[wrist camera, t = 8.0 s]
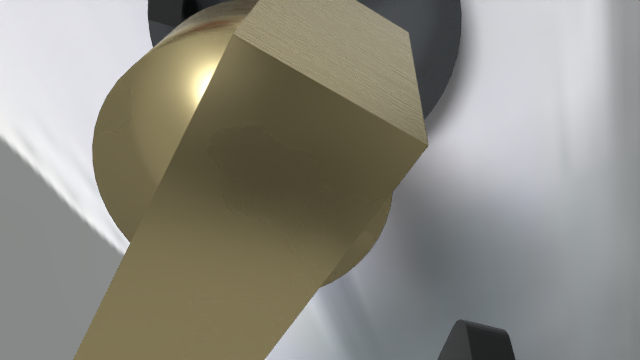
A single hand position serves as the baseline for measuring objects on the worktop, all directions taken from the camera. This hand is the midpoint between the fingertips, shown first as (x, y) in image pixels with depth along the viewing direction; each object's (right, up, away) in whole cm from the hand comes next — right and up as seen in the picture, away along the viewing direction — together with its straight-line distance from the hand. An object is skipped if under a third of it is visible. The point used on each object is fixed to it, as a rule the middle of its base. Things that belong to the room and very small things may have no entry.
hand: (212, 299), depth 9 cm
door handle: (0, +3, +5) cm, 6 cm away
